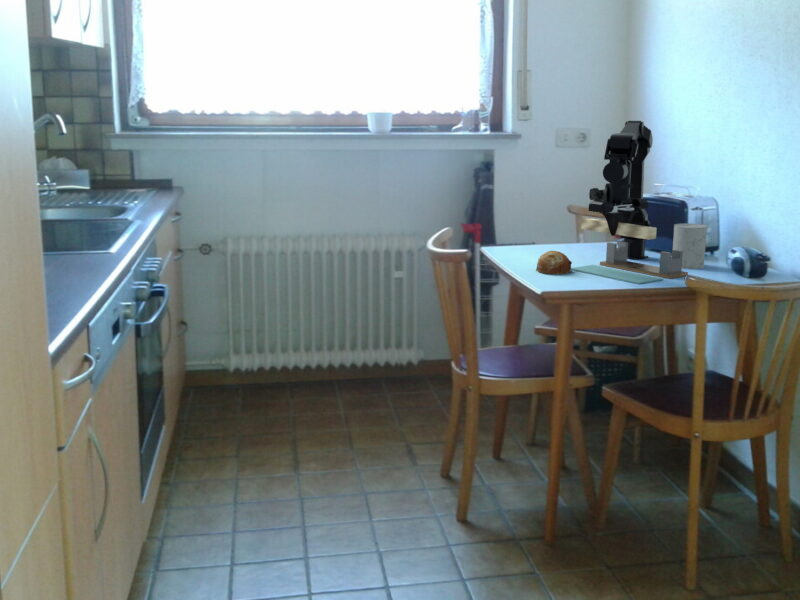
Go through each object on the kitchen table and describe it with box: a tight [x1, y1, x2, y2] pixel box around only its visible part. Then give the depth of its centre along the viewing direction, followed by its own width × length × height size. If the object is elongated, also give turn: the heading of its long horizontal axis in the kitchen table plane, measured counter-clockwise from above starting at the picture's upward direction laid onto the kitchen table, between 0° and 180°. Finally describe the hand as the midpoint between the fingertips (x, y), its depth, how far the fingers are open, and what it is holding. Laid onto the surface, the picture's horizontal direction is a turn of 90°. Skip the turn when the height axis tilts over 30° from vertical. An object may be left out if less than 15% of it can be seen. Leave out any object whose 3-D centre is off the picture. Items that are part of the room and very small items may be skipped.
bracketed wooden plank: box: [599, 240, 689, 280], centre depth 260 cm, size 26×8×7 cm, turn 35°
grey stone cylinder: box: [672, 222, 708, 270], centre depth 266 cm, size 10×10×12 cm
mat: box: [571, 264, 664, 285], centre depth 254 cm, size 10×26×1 cm, turn 35°
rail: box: [580, 217, 658, 241], centre depth 251 cm, size 25×3×3 cm, turn 35°
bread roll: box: [535, 250, 573, 275], centre depth 258 cm, size 10×10×8 cm
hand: (616, 235), depth 251 cm, fingers closed on rail, 3 cm apart
